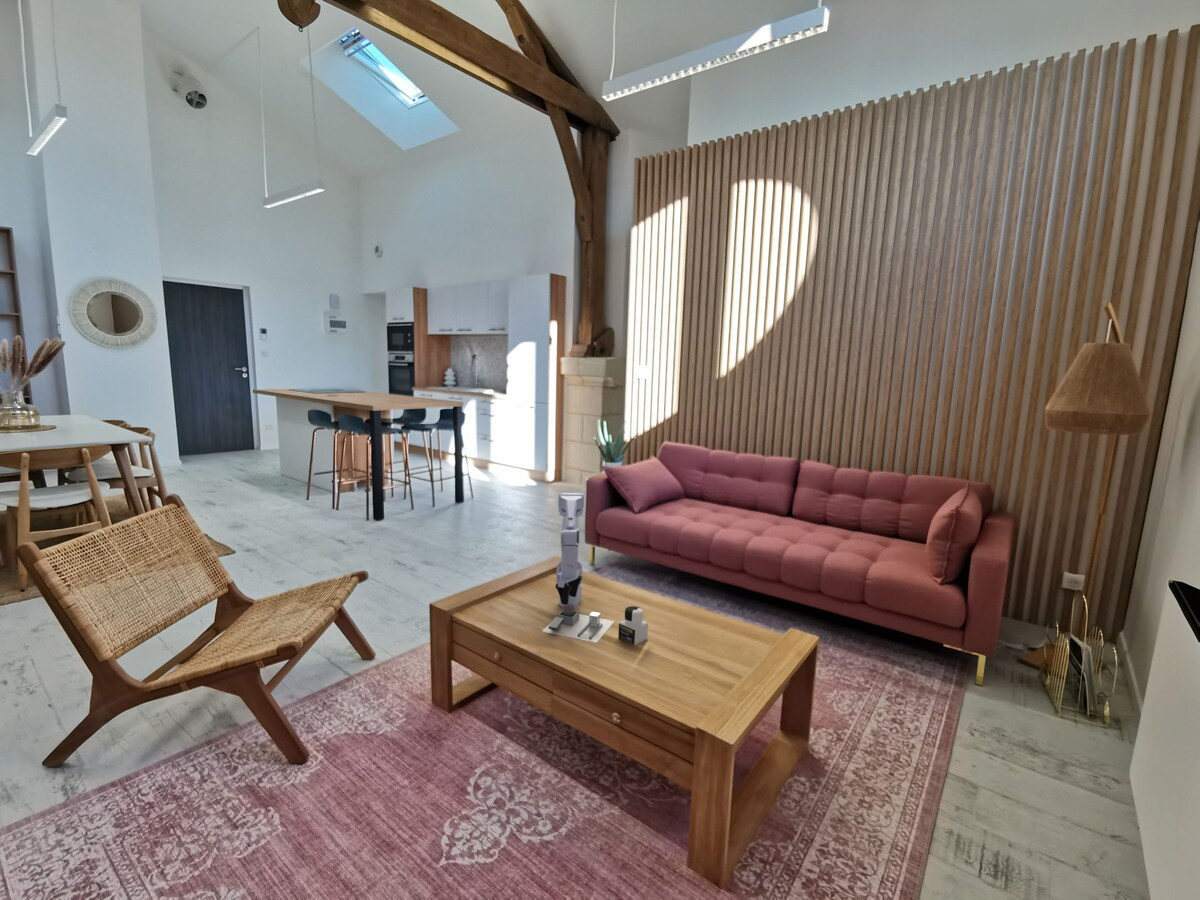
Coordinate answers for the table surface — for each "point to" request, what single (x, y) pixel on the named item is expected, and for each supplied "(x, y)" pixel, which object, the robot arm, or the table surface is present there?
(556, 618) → the rocker
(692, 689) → the table surface
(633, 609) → the medicine bottle
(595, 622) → the slider knob
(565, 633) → the panel
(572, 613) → the push button
